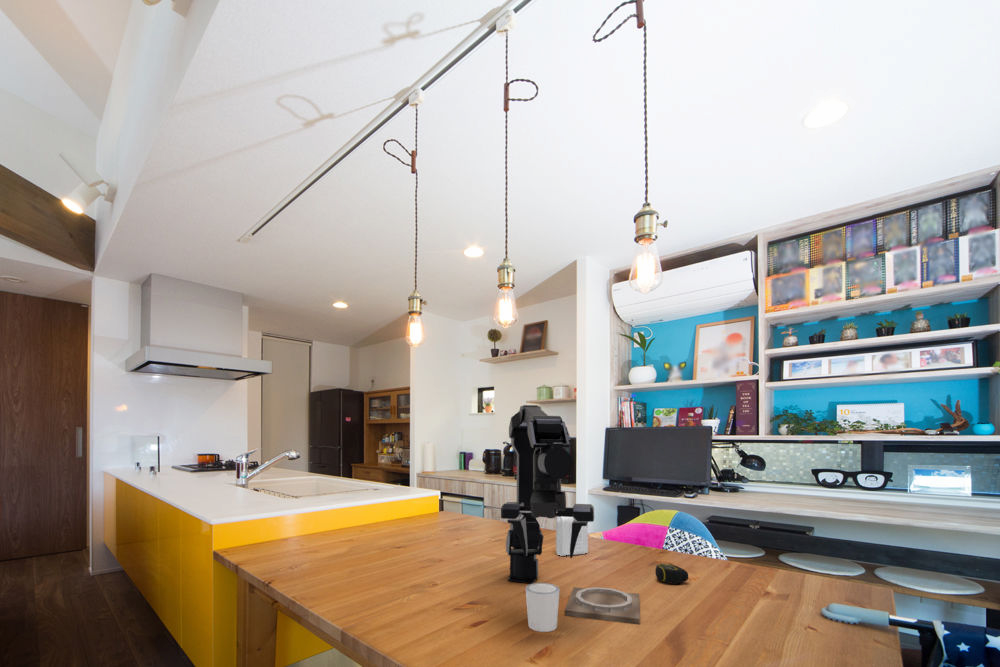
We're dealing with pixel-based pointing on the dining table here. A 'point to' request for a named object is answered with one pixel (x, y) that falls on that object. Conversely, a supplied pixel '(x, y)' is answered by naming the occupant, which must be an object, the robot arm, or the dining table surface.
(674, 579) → the tape measure
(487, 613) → the dining table surface
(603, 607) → the ring holder
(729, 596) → the dining table surface
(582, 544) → the white rounded block
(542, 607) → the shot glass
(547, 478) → the robot arm
